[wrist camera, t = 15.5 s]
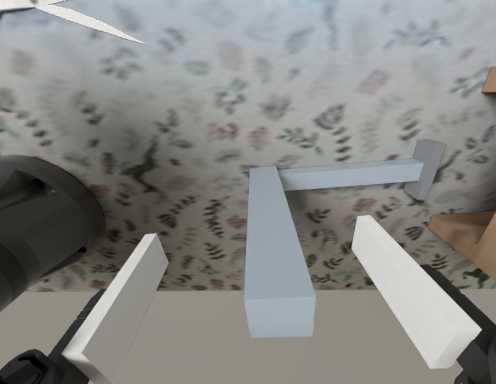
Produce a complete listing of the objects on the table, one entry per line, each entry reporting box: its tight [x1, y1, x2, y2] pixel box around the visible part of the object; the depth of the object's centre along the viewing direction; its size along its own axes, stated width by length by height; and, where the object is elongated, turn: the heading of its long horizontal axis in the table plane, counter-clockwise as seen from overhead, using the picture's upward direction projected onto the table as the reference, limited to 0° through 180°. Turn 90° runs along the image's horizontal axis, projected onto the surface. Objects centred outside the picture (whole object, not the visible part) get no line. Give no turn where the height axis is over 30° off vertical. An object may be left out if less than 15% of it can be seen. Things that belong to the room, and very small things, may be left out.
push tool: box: [244, 139, 446, 338], centre depth 15 cm, size 19×6×16 cm, turn 96°
